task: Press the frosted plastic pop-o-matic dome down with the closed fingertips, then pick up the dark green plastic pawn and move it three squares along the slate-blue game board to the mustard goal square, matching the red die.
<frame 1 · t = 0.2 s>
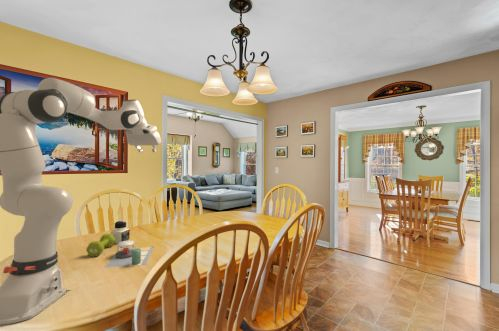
hand: (147, 151, 136), 54 cm above the table, tool tilted 30°, fingers open, 8 cm apart
dumbbell: (101, 251, 126), on the table
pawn: (136, 263, 110), point 1 cm above the table, touching game board
dome: (125, 246, 119), point 5 cm above the table, slide at 0.0 cm
game board: (132, 257, 118), on the table
medicine bottle: (120, 242, 141), on the table
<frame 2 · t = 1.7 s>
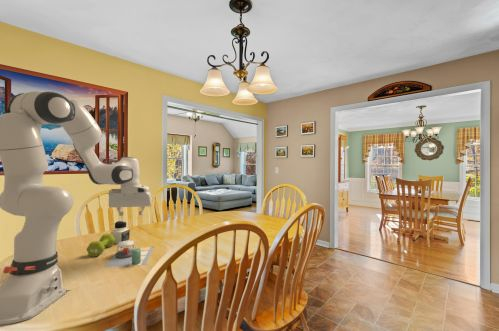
hand: (131, 215, 122), 20 cm above the table, tool pointing down, fingers open, 8 cm apart
nothing on the table moved.
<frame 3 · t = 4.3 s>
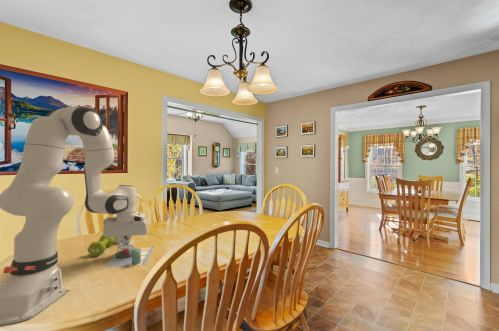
hand: (126, 244, 119), 6 cm above the table, tool pointing down, fingers closed, pressing on dome
dome: (125, 247, 119), point 5 cm above the table, slide at -0.8 cm, touching gripper
everything else where it was.
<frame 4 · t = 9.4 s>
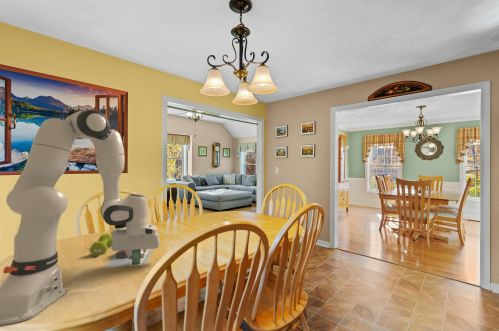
hand: (136, 258, 110), 3 cm above the table, tool pointing down, fingers closed on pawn, 4 cm apart
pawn: (136, 263, 110), point 1 cm above the table, touching game board, gripper
dome: (125, 246, 119), point 5 cm above the table, slide at -0.3 cm
when the fingers open (4 cm above the table, at t = 14.7 s): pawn drops 1 cm, resting on game board.
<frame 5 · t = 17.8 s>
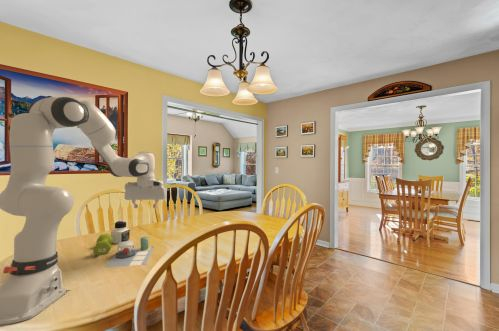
hand: (145, 207, 127), 23 cm above the table, tool pointing down, fingers open, 8 cm apart
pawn: (144, 248, 128), point 1 cm above the table, touching game board
at the end: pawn 0.1 cm from the target spot on the game board, point 0.9 cm above the game board's base; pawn tilted 2° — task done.
